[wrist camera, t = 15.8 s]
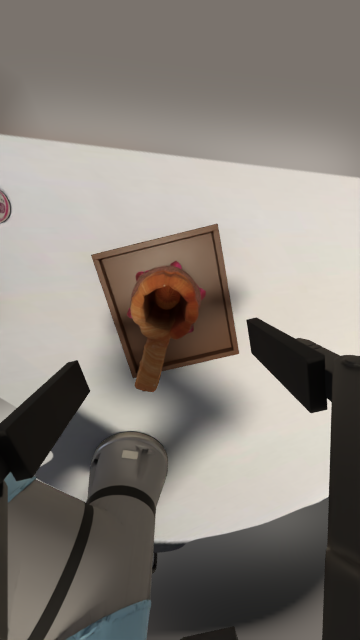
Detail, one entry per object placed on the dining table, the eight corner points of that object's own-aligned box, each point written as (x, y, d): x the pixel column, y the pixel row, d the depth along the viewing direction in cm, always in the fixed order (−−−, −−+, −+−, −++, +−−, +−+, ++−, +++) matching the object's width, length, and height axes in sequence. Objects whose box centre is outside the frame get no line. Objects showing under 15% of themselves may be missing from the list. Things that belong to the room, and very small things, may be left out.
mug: (150, 255, 29) (129, 242, 15) (201, 270, 30) (227, 272, 16) (129, 341, 33) (96, 400, 18) (175, 353, 34) (178, 417, 19)
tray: (235, 348, 35) (239, 353, 33) (135, 371, 35) (132, 378, 33) (214, 226, 29) (217, 223, 27) (96, 255, 30) (90, 254, 28)
